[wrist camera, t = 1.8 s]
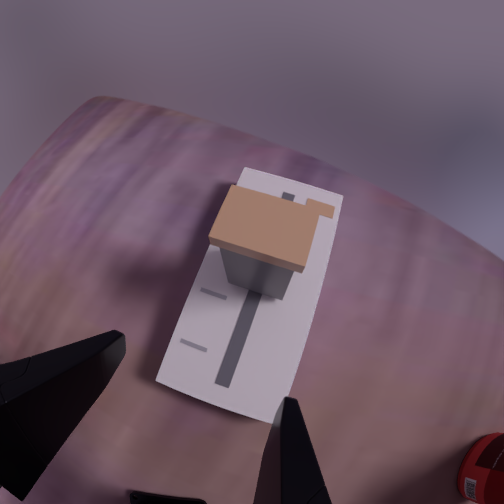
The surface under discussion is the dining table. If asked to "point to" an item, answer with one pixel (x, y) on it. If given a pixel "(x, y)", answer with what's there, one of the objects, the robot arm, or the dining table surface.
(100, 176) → the dining table surface
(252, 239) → the slider handle
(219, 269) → the dimmer panel
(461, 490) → the canned food
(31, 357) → the robot arm
